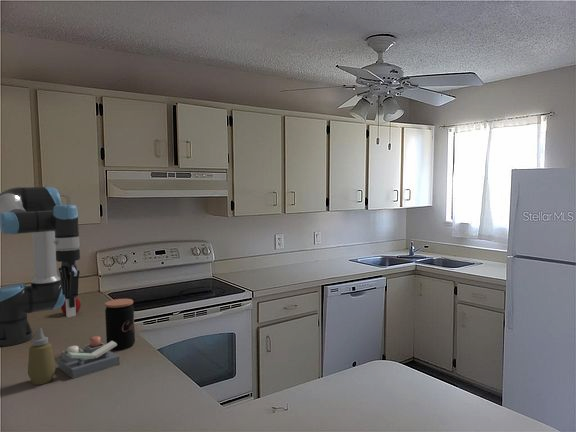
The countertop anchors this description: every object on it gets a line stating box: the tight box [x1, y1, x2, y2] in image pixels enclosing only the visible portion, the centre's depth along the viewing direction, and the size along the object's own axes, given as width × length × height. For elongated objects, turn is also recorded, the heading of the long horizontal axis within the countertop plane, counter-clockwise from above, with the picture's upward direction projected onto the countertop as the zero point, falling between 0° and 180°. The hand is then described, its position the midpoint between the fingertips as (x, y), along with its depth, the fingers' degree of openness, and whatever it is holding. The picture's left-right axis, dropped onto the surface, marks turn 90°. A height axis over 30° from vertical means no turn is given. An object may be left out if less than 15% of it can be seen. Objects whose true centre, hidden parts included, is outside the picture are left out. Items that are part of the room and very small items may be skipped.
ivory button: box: [66, 345, 80, 354], centre depth 156 cm, size 4×4×3 cm
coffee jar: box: [104, 298, 136, 351], centre depth 176 cm, size 11×11×18 cm
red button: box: [89, 335, 102, 348], centre depth 162 cm, size 4×4×3 cm
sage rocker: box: [67, 352, 95, 361], centre depth 152 cm, size 4×8×2 cm, turn 136°
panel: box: [57, 341, 121, 379], centre depth 157 cm, size 14×16×6 cm
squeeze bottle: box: [27, 326, 56, 385], centre depth 144 cm, size 8×8×18 cm
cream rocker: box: [91, 341, 117, 358], centre depth 158 cm, size 4×8×2 cm, turn 136°
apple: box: [60, 297, 81, 315], centre depth 225 cm, size 9×9×10 cm
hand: (71, 316), depth 154 cm, fingers closed
